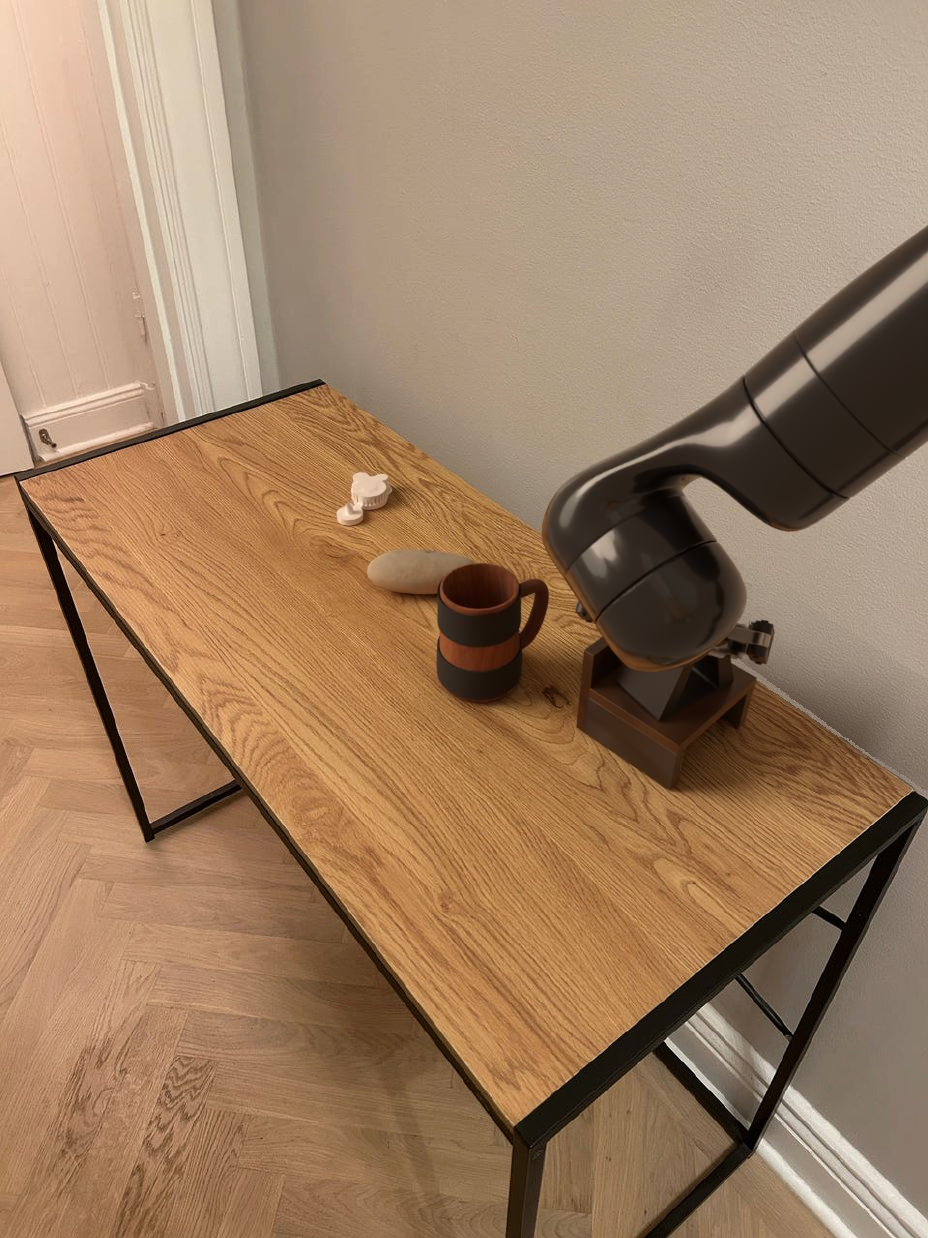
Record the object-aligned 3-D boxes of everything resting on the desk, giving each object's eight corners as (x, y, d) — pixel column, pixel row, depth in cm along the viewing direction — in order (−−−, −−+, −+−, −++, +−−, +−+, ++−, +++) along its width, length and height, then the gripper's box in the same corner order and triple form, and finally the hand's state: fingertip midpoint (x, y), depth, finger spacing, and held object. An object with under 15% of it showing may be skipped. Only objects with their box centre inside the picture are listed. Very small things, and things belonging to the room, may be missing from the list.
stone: (365, 553, 107) (465, 521, 106) (383, 603, 109) (482, 572, 108) (359, 569, 102) (465, 536, 100) (379, 621, 104) (483, 589, 102)
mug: (566, 677, 95) (574, 587, 87) (461, 718, 91) (459, 626, 83) (523, 628, 101) (527, 539, 93) (422, 664, 97) (418, 574, 89)
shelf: (745, 722, 90) (765, 645, 84) (669, 791, 84) (685, 713, 77) (652, 667, 96) (665, 590, 90) (575, 727, 90) (583, 649, 83)
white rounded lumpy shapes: (327, 488, 123) (326, 474, 121) (391, 478, 124) (390, 464, 123) (339, 527, 116) (337, 513, 114) (407, 516, 117) (406, 502, 116)
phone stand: (688, 647, 89) (708, 544, 82) (733, 684, 86) (758, 580, 78) (614, 682, 86) (627, 578, 78) (658, 723, 82) (676, 618, 74)
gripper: (792, 575, 59) (780, 608, 74) (574, 528, 63) (606, 568, 79) (762, 691, 59) (756, 699, 74) (546, 635, 63) (583, 655, 78)
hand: (679, 632), depth 76 cm, fingers open, 8 cm apart
